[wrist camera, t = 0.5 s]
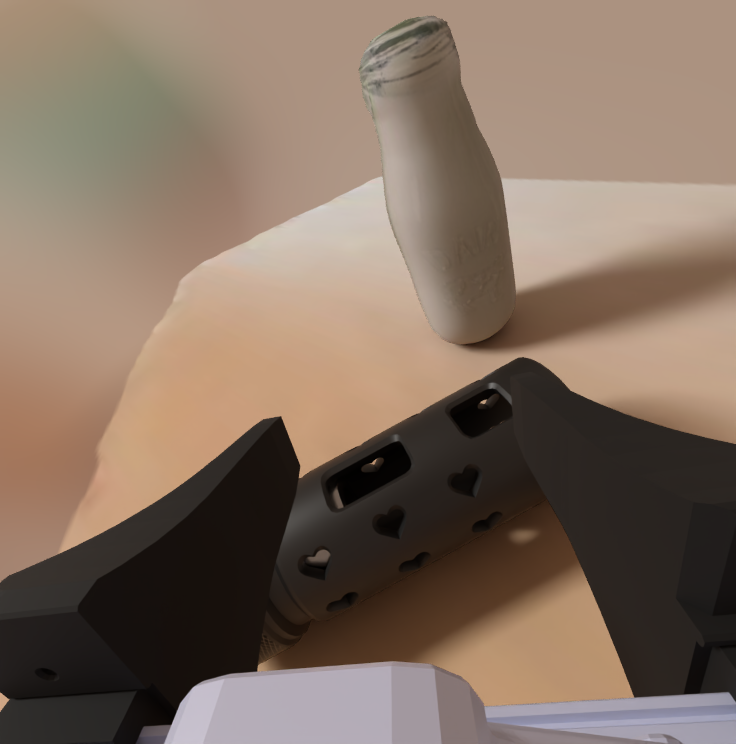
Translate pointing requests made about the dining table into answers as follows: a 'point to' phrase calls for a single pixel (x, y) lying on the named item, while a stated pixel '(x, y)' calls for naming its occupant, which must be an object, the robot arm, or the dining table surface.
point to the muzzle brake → (400, 505)
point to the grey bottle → (439, 181)
